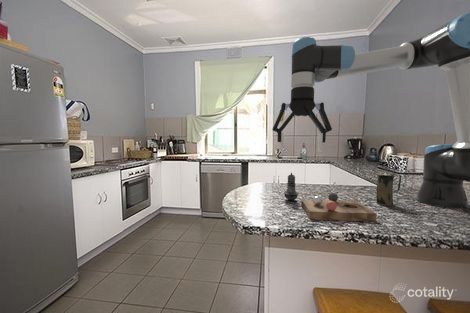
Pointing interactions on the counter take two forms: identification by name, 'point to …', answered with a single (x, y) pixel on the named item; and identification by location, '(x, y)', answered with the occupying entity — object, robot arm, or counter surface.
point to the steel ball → (317, 200)
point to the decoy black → (333, 197)
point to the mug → (386, 189)
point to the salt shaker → (291, 190)
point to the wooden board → (339, 211)
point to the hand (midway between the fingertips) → (300, 152)
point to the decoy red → (331, 205)
